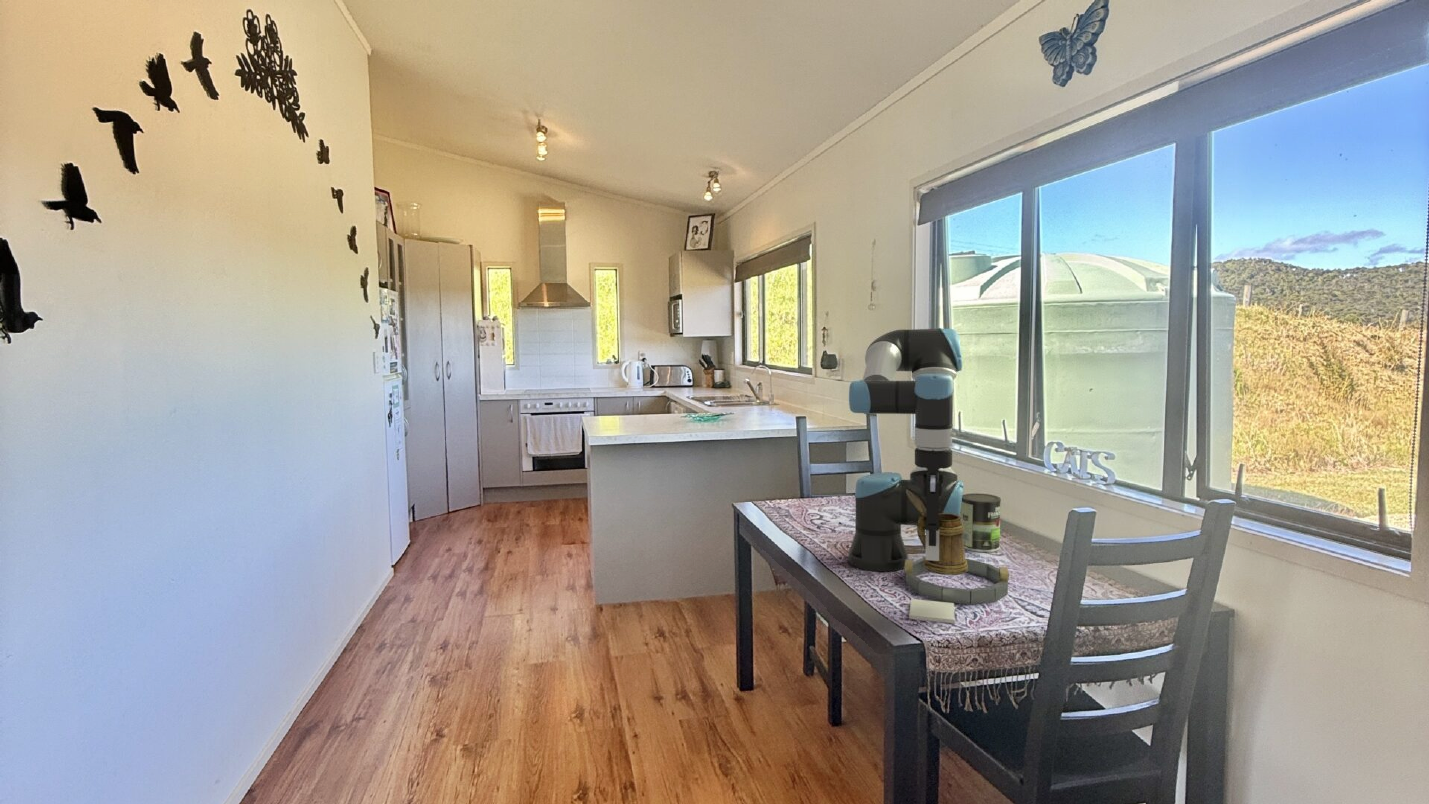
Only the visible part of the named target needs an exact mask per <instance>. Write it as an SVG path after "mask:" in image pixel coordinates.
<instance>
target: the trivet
mask: <svg viewBox="0 0 1429 804" xmlns="http://www.w3.org/2000/svg"><path fill="white" fill-rule="evenodd" d="M909 606H910V607H909V615H908V617H909V620H919V621H929V622H937V623H947V624H955V619H956V617H955V603H951V602H942V601H938V600H925V599H915V598H911V600H910V605H909Z"/></svg>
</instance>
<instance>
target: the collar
mask: <svg viewBox="0 0 1429 804" xmlns="http://www.w3.org/2000/svg"><path fill="white" fill-rule="evenodd" d="M965 559H966V561H967V565H968V571H967V572H966V573H969V574H972V575H977V576H980V577H984V578H987V579H988V580H990V581H992V582H994V584H993V585H991V586H984V587H977V588H962V587H950V586H942V585H938V584H935V583H932V582H928V581H925V580H922V579H921V578H919V577H917V576H919V575H921V574H923V573H927V572H930V571H928V570H927V569H926V568H925V567H924V566H923V563H924V558H919V559H917V560H915V561H914V559H909V558H908V559H906V560H905V567H904V572H905V586H906V587H908V589H910V590H912V591H913V592H914V593H916V594H917V595H919V596H923V597H925V598H928V599H932V600H934V601H937V602H947V603H954V604H964V605H977V603H979V604H985V603H986V604H987V603H994V602H995V601H996V602H997V601H998V600H1001V599H1003V598H1005V596H1007V595H1009V594H1008V593H1009V581H1010V573H1009V569H1008V567H1007V566H998V568H997V567H996V566H994V565H993V564H990V563H987V562H982V561H979V560H973V559H970V558H965Z"/></svg>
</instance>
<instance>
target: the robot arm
mask: <svg viewBox="0 0 1429 804" xmlns="http://www.w3.org/2000/svg"><path fill="white" fill-rule="evenodd" d="M962 358H963V357H962V347H961V341H960V336H959V334H958V332H957V331H956V330H955V329H952V328H941V327H938V328H917V329H896V330H892V331H889V332H887V333H884V334H882V335H880V336H878V338H876V339H874V340H873V341H872V342H871V343H870V344H869V345H868V347H867V349H866V351H865V355H864V362H865V365H866V366H865V369H864V373H863V376H862V379H860V380H853V381H851V382H850V384H849V389H848V403H849V404H848V405H849V410H850V412H852V413H853V414H864V415H869V414H870V415H872V414H873V415H875V414H876V415H877V414H878V415H882V414H883V415H885V414H886V415H890V414H891V415H896V414H897V415H914V416H915V417H914V420H915V421H914V422H915V423H914V446H915V447H916V448H915V449H914V465H915V468H914V469H913V470H912V471H911V472H910V476H909V478H910V479H903V477H902V475H901V473H897V472H876V473H869V474H867V475H863V476H861V477H859V478H858V479H857V480H856V482H855V492H854V493H855V494H854V498H855V517H854V518H855V520H854V521H855V522H854V523H855V532H854V536H853V539H852V542H851V545H850V548H849V550H848V562H849V564H851V565H853V566H854V567H856V568H859V569H862V570H866V571H874V572H893V571H898V570H902V569H905V560H906V559H909V555H908V551H907V548H906V545H905V543H904V539H903V536H902V526H913V527H915V526H916V527H917V523H918V520H919V518H920V516H921V512H920V511H919V510H918V509H917V508H916V507H915V505H914V504H913V503H912V502H911V501H910V499H909V498H908V496H907V494H906V489H907V488H909V489H911V490H912V491H914V492H915V493H916V494H917V495H918V496H919V497H920V498H921V499H922V500H923V501H924V502H925V504H926V525H925V527H922V529H923V530H925V535H926V547H925V549H924V551H925V554H924V557H925V560H932V561H939V514H941V513H948V514H955V515H958V516H961V502H962V495H964V494H963V493H964V482H963V481H960V480H958V474H957V473H956V472H955V470H954V469H952V465H953V450H952V447H953V438H955V437H956V436H957V435H956V433H955V432H953V411H954V410H953V408H954V403H953V402H954V391H955V390H954V389H955V388H954V380H955V379H956V378H957V376H958V375H957V373H958V372H961V371H962V370H963V359H962ZM897 372H911V378H912V379H913V380H895V379H896V373H897ZM930 523H934V524H930Z"/></svg>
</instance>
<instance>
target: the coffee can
mask: <svg viewBox="0 0 1429 804" xmlns="http://www.w3.org/2000/svg"><path fill="white" fill-rule="evenodd" d="M1001 502H1002V498H1001V497H1000V496H997V495H993V494H989V493H976V492H975V493H966V494H962V502H961V509H960V517H961V523H962V524H963V529H964V532H963V533H962V534H963V543H964V550H967V551H971V552H975V553H993V552H998V551H999V550H1000V549H1001V548H1000V546H1001V545H1000V544H1001V543H1000V539H1001V538H1000V533H1001V532H1000V531H1001Z"/></svg>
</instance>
